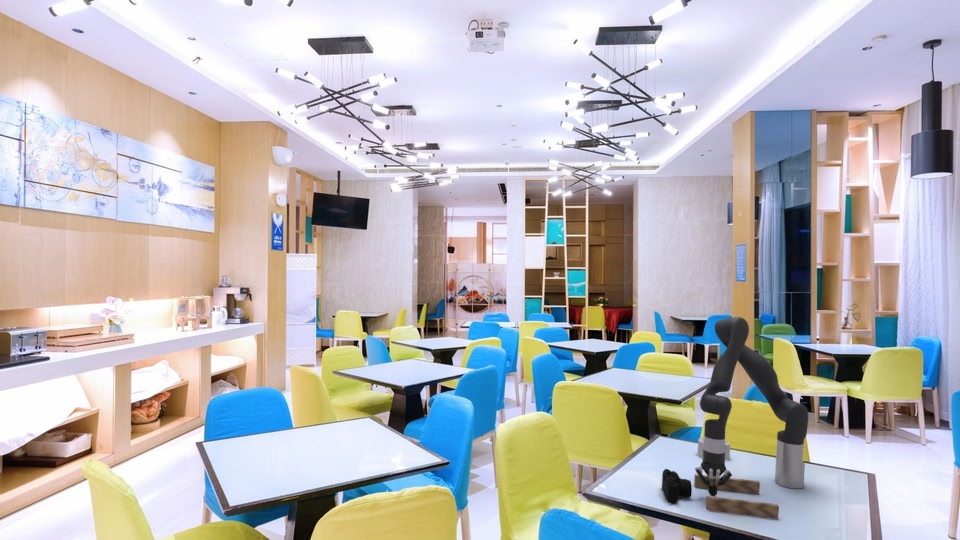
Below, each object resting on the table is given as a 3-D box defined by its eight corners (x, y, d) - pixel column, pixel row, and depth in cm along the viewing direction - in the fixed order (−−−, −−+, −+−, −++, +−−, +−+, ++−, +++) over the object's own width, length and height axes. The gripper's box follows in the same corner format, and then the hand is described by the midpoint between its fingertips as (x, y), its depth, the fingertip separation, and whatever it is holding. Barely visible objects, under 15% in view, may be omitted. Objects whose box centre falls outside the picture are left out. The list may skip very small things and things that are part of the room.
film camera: (694, 507, 186) (695, 482, 186) (666, 503, 188) (667, 479, 188) (686, 489, 201) (687, 466, 201) (659, 486, 203) (660, 463, 203)
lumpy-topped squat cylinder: (732, 461, 233) (733, 441, 232) (704, 461, 231) (705, 441, 231) (719, 452, 243) (720, 433, 243) (692, 452, 241) (693, 433, 241)
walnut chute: (757, 492, 200) (758, 481, 200) (778, 519, 180) (778, 506, 179) (694, 485, 204) (694, 474, 204) (706, 510, 184) (707, 497, 184)
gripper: (730, 447, 196) (728, 493, 196) (693, 443, 198) (691, 489, 199) (736, 454, 188) (734, 502, 189) (697, 450, 191) (695, 497, 192)
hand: (712, 495), depth 194 cm, fingers closed
